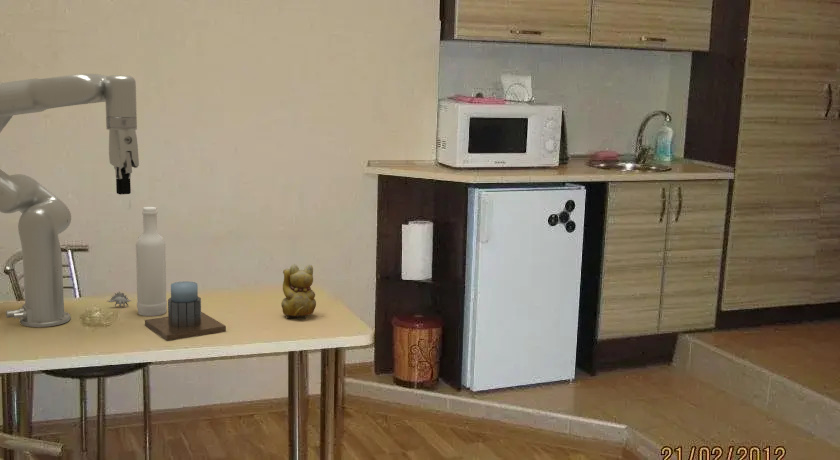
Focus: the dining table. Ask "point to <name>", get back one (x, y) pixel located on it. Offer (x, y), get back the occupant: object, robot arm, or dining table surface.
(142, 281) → the bottle
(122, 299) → the stegosaurus
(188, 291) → the cap
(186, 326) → the copper square plate
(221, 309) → the dining table surface
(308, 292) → the decorative figurine
